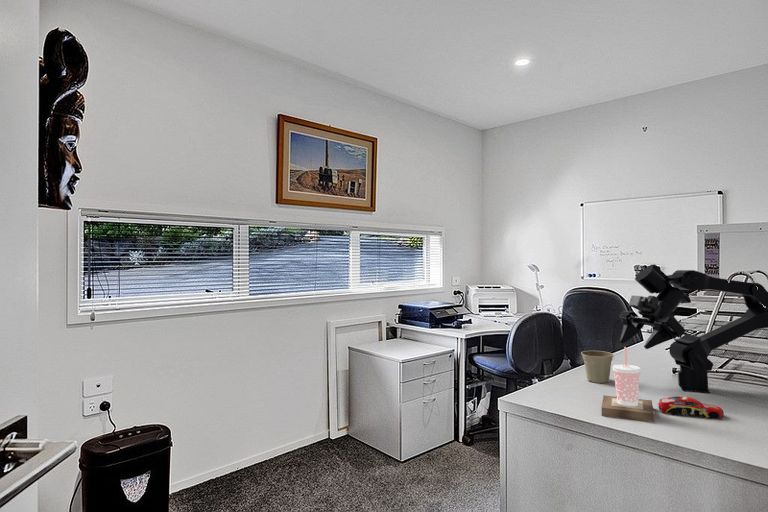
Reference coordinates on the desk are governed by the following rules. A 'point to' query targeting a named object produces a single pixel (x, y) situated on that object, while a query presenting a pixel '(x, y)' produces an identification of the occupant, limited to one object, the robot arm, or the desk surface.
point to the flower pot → (597, 365)
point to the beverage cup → (626, 383)
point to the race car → (689, 407)
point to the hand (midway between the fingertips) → (632, 345)
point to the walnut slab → (628, 409)
